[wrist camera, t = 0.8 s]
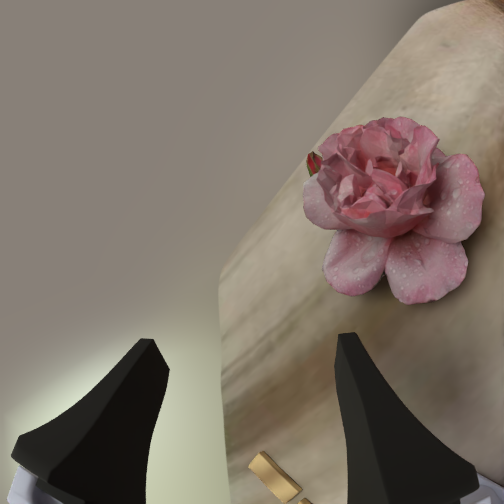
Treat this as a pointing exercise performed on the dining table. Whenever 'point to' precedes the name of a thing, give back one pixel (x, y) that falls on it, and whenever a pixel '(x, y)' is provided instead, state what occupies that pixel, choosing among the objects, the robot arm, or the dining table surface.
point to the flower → (393, 209)
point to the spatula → (275, 478)
